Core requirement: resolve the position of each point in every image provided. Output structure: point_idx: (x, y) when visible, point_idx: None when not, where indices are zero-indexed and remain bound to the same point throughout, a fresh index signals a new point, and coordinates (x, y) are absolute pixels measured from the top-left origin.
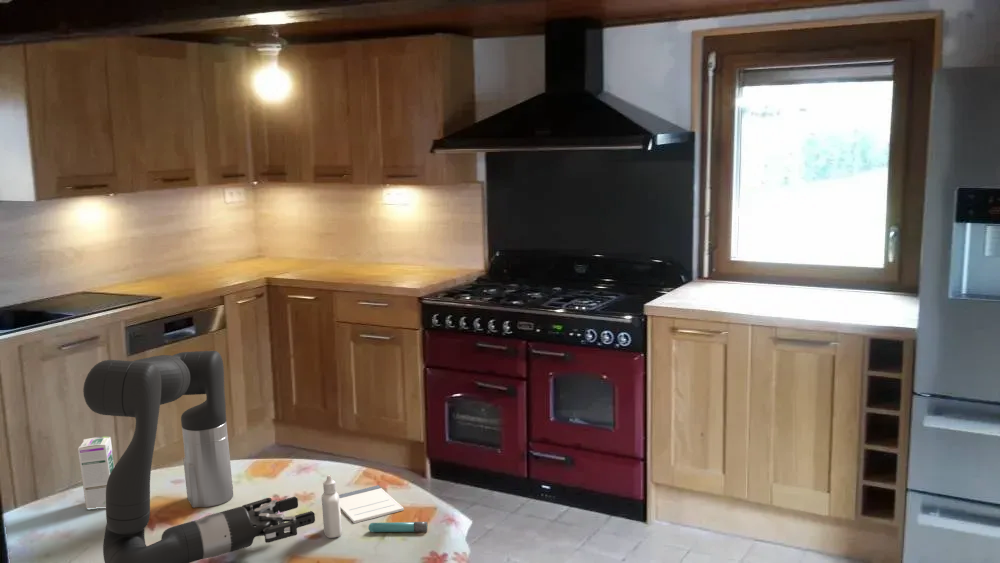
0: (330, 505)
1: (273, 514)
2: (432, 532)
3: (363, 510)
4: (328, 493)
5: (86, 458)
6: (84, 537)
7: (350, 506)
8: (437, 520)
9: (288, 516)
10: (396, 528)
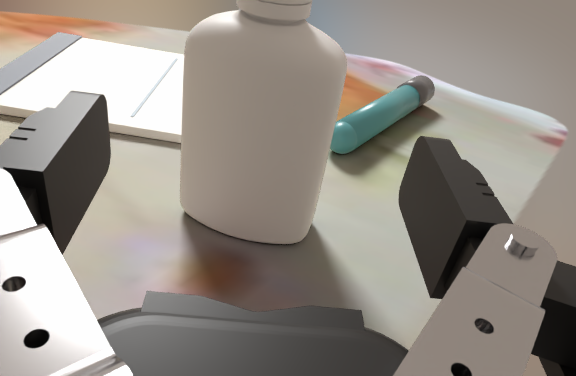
0: (341, 82)
1: (426, 339)
2: (429, 100)
3: (179, 103)
4: (302, 16)
5: None
6: None
7: (108, 105)
8: (368, 74)
9: (476, 253)
10: (396, 115)
